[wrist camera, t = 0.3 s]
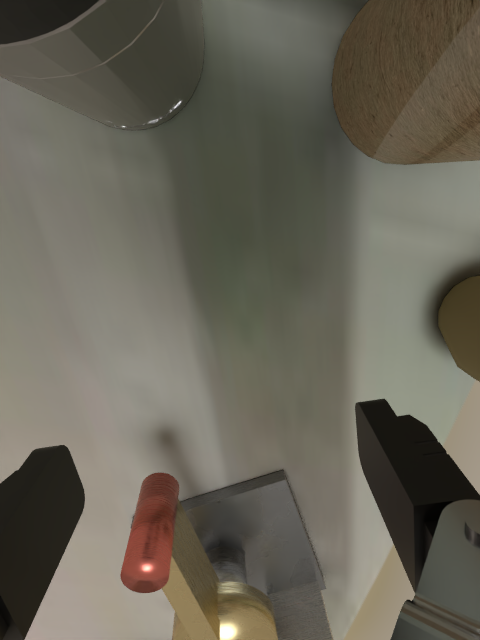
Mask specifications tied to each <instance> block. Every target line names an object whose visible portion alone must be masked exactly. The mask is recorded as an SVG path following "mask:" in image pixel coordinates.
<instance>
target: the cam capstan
mask: <svg viewBox="0 0 480 640" xmlns="http://www.w3.org/2000/svg"><path fill="white" fill-rule="evenodd" d="M178 495H179V484H178V482H177V480H176V479H175V478H174V477H173V476H171V475H169V474H166V473H154V474H151V475H149V476H148V477H146V478H145V479H144V481H143V483H142V486H141V490H140V494H139V499H138V503H137V507H136V511H135V515H134V520H133V524H132V528H131V532H130V537H129V541H128V545H127V549H126V553H125V558H124V562H123V566H122V570H121V580H122V582H123V584H124V585H125V586H126V587H127V588H129V589H130V590H132V591H135V592H139V593H150V592H155V591H157V590H160V589H161V588H162V590H163V592H164V593H165V595H166V597H167V598H168V600H169V602H170V604H171V605H172V607H173V609H174V610H175V615H174V625H173V636H172V640H278V636H277V629H276V621H275V614H274V608H273V605H272V603H271V601H270V599H269V598H268V597H267V596H266V595H265V594H264V593H263V592H262V591H260V590H259V589H257V588H255V587H253V586H250V585H247V584H243V583H237V582H219V578H218V576H217V574H216V572H215V570H214V568H213V566H212V564H211V562H210V560H209V558H208V556H207V555H206V553H205V551H204V549H203V547H202V545H201V543H200V541H199V539H198V537H197V535H196V533H195V531H194V529H193V527H192V525H191V523H190V521H189V519H188V517H187V515H186V513H185V511H184V509H183V507H182V505H181V503H180V501H179V499H178Z"/></svg>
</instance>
